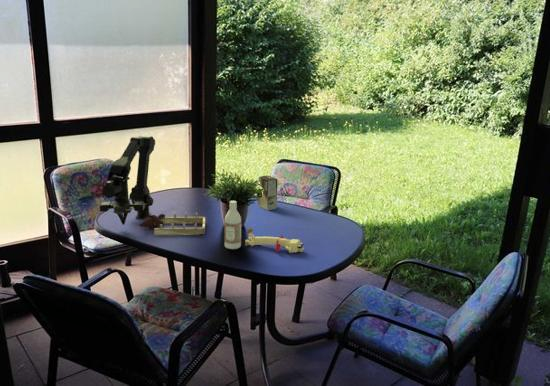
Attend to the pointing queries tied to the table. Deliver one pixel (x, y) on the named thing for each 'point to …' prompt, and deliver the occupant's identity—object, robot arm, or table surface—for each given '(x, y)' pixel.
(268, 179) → the coffee box
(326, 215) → the table surface
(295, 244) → the yellow toy animal
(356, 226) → the table surface
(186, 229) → the dish rack
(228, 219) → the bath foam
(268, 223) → the table surface
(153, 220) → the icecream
